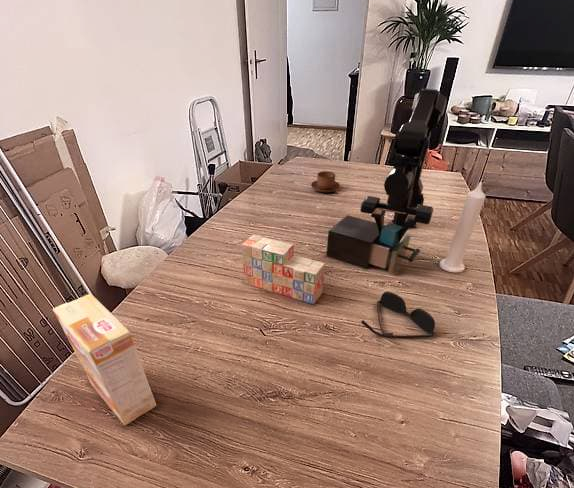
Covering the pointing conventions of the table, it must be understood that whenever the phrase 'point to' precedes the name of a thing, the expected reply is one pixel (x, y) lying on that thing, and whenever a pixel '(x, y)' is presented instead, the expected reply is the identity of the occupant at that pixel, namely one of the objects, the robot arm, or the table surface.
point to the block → (390, 234)
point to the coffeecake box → (107, 356)
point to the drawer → (391, 253)
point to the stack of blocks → (281, 269)
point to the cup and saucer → (325, 182)
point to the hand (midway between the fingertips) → (390, 238)
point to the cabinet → (352, 241)
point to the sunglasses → (398, 305)
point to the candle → (464, 231)
